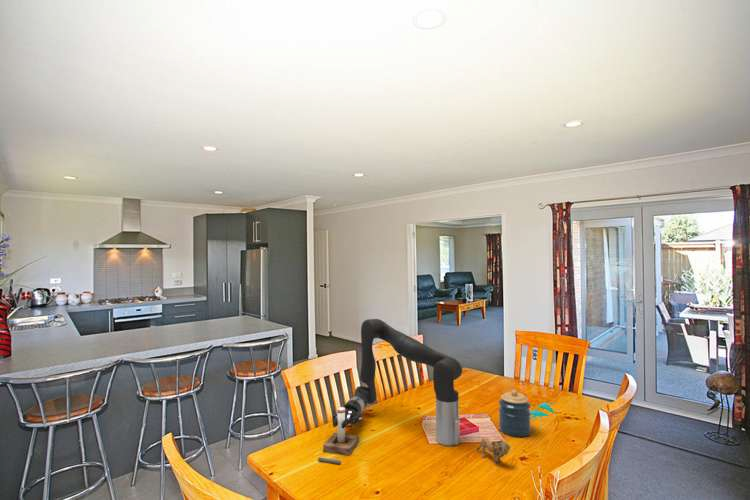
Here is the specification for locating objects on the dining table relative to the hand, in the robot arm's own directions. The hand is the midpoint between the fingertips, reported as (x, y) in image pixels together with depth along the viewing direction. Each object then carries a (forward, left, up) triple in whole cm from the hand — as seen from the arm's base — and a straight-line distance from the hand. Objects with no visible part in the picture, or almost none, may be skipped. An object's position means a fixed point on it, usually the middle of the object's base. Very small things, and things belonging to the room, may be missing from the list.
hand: (338, 425), depth 150 cm
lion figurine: (-58, -10, -10) cm, 60 cm away
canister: (-67, -37, -10) cm, 77 cm away
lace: (0, +9, -10) cm, 13 cm away
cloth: (-82, -63, -11) cm, 104 cm away
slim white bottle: (0, -3, -7) cm, 8 cm away
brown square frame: (0, -3, -10) cm, 10 cm away
